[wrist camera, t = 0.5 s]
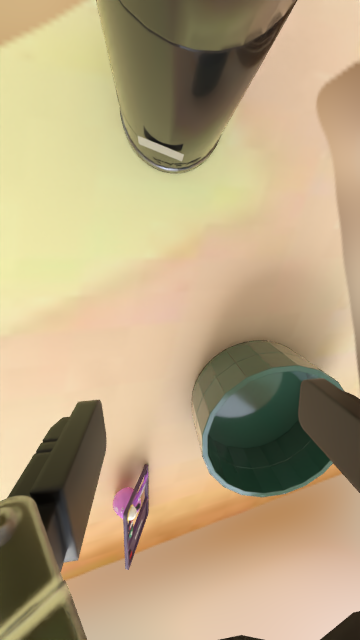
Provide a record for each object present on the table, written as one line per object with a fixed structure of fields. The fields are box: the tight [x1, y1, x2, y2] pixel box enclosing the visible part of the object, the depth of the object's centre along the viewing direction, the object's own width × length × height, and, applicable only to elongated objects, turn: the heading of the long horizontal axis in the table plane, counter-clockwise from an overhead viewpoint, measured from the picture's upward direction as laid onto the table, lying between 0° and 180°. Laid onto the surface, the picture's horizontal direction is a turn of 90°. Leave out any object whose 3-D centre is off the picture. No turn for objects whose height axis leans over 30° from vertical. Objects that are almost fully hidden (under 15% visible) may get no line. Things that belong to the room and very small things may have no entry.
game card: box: [113, 464, 148, 570], centre depth 30 cm, size 7×5×9 cm
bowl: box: [192, 341, 344, 497], centre depth 28 cm, size 16×16×7 cm
